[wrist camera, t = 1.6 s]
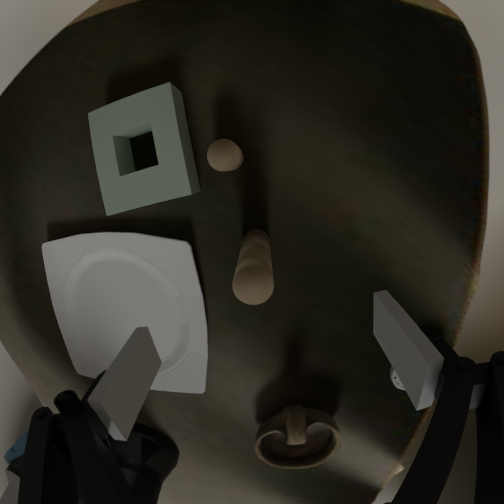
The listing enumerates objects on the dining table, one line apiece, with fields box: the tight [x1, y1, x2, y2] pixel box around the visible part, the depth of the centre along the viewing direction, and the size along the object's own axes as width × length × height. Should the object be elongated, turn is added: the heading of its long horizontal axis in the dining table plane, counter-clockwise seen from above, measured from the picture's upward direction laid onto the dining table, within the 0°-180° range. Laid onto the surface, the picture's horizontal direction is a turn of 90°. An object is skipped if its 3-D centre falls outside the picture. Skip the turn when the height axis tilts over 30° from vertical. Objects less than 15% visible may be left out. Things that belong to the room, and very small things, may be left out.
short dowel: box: [207, 139, 244, 171], centre depth 28 cm, size 3×3×6 cm
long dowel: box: [232, 229, 274, 305], centre depth 28 cm, size 3×3×13 cm
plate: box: [42, 232, 208, 394], centre depth 36 cm, size 24×24×3 cm
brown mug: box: [255, 405, 341, 469], centre depth 37 cm, size 14×18×10 cm
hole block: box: [88, 82, 201, 216], centre depth 29 cm, size 10×12×4 cm
